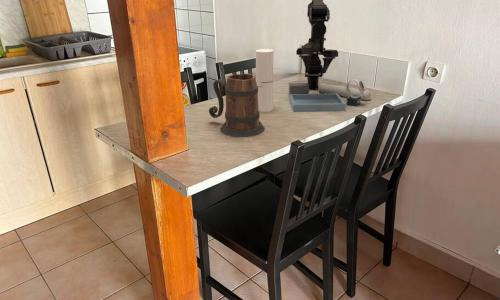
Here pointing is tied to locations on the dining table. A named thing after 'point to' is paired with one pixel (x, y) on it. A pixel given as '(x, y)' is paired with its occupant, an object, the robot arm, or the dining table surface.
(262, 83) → the cylindrical container
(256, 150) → the dining table surface
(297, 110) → the tray
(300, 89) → the caddy
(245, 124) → the tankard
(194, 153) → the dining table surface
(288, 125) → the dining table surface
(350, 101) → the watch
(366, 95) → the tube
